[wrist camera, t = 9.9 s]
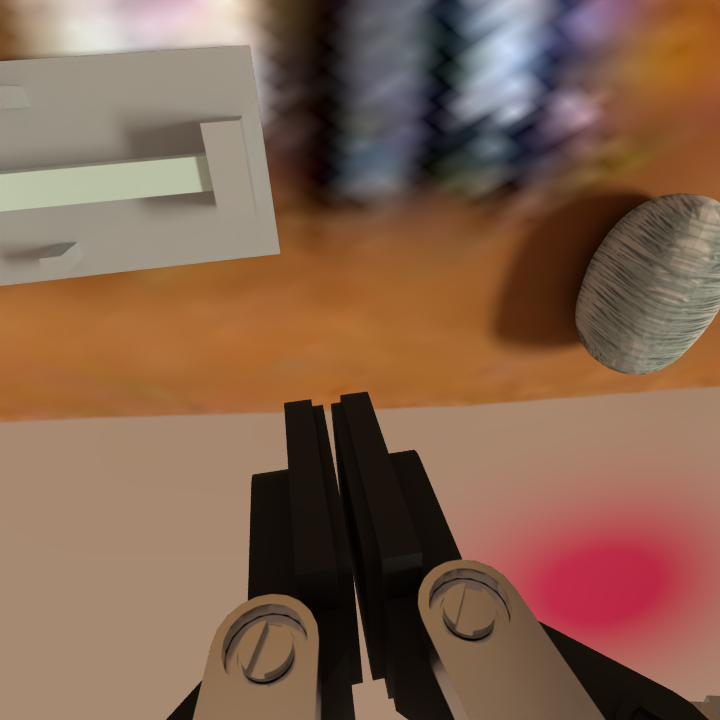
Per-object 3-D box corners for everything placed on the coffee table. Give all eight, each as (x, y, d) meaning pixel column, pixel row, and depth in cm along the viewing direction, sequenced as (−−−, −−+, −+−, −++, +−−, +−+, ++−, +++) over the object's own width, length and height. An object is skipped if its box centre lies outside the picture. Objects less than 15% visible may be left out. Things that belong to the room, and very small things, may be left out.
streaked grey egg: (652, 382, 43) (708, 404, 33) (543, 344, 44) (566, 355, 34) (722, 227, 40) (805, 202, 31) (605, 192, 42) (648, 158, 32)
